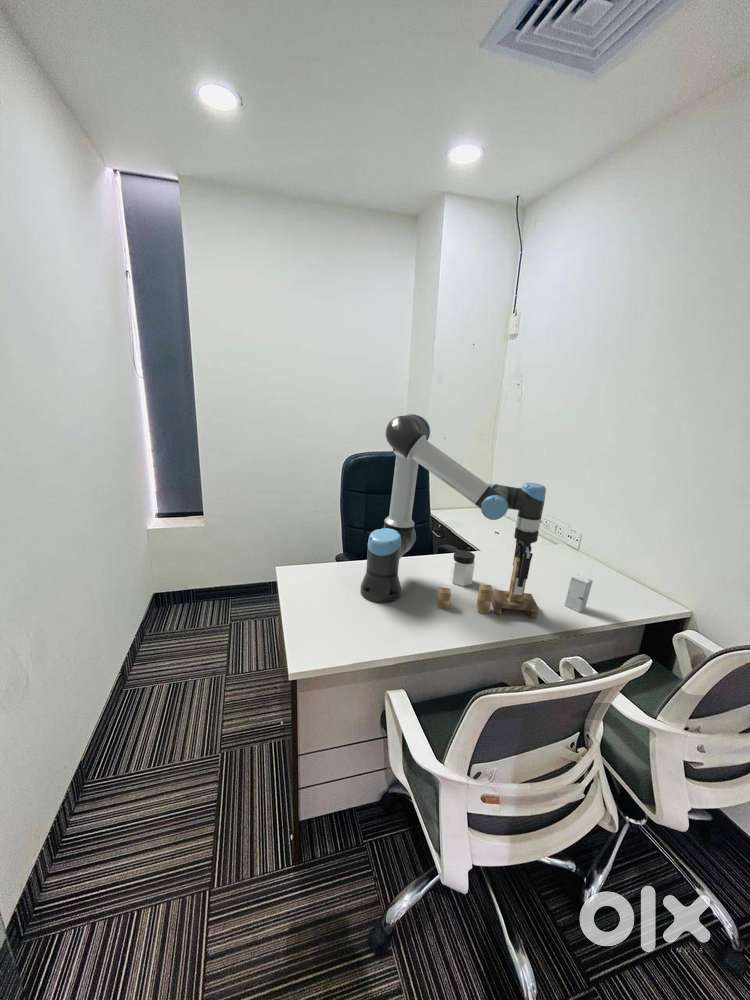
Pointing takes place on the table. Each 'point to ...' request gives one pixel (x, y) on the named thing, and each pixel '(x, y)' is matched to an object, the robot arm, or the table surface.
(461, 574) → the jar
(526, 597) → the bridge
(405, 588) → the table surface
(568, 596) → the skincare box
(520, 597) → the peg long
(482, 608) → the peg mid
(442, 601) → the peg short
